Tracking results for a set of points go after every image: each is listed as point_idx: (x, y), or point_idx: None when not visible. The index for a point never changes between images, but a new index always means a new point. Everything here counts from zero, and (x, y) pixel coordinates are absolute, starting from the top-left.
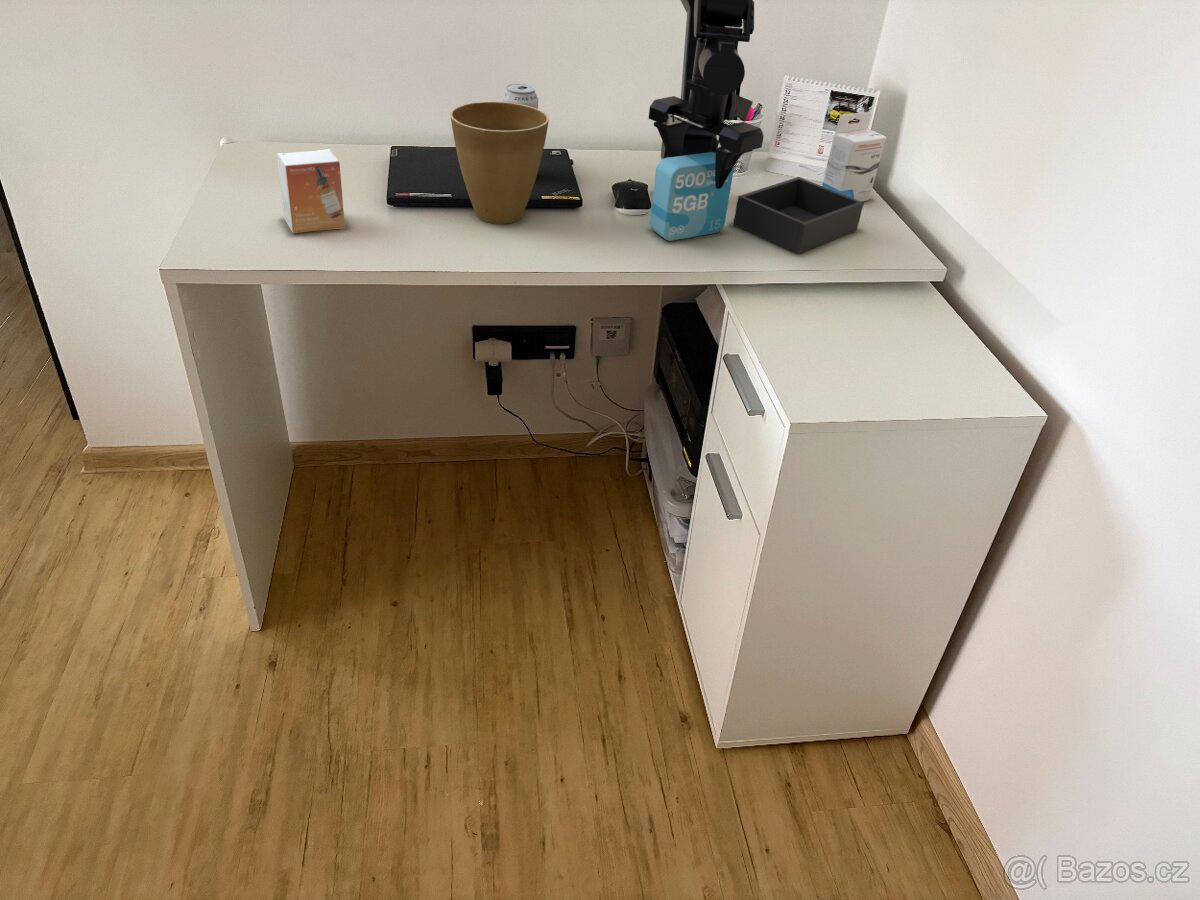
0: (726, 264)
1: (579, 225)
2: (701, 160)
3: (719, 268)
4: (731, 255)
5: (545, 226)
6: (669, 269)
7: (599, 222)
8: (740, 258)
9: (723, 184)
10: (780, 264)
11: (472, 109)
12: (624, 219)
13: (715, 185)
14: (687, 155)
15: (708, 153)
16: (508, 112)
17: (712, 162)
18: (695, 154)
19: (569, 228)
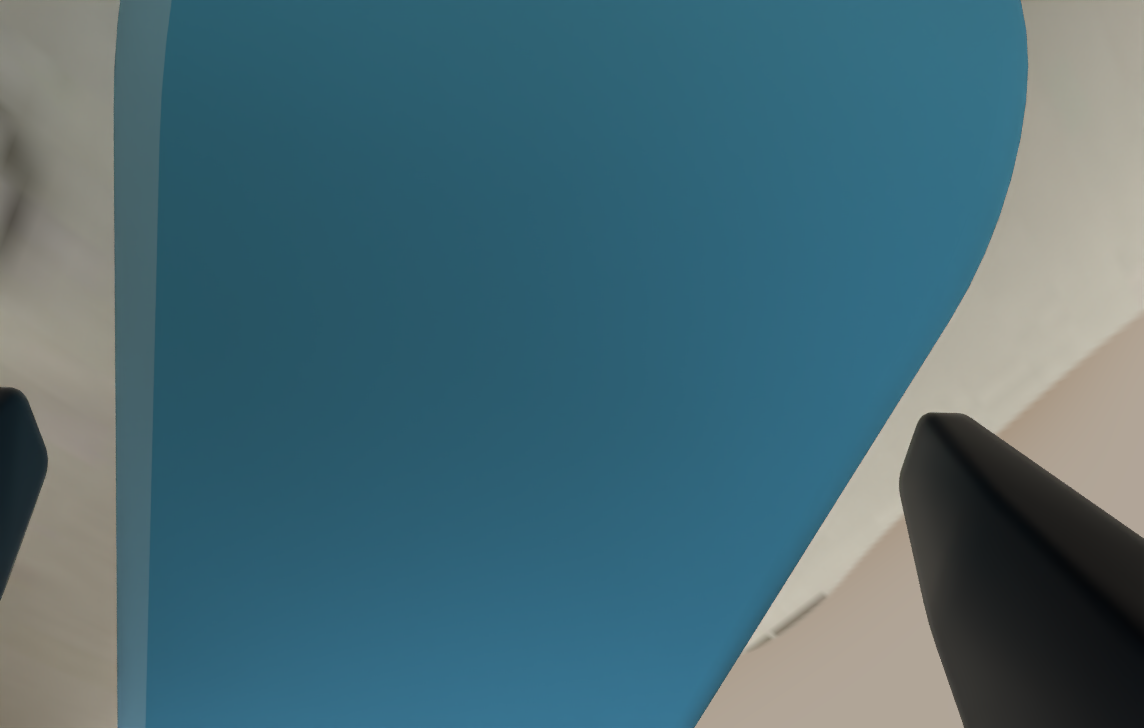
0: (1053, 308)
1: (53, 589)
2: (513, 700)
3: (1035, 384)
4: (1027, 163)
5: (7, 700)
6: (795, 583)
7: (49, 489)
8: (1113, 147)
9: (1002, 443)
10: None
11: None
12: (55, 338)
13: (910, 530)
14: (157, 719)
15: (215, 301)
16: None
17: (729, 627)
18: (160, 586)
19: (76, 641)
